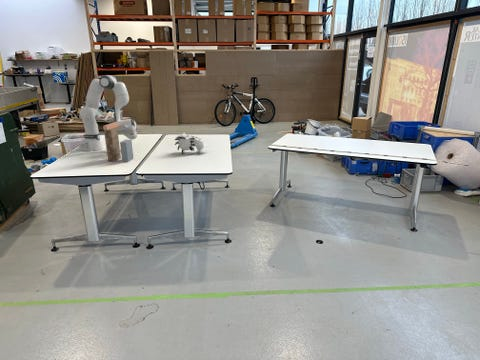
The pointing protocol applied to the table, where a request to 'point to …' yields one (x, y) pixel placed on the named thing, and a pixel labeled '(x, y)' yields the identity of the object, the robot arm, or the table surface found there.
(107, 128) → the bar
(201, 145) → the figurine
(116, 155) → the pillar
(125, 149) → the blue-grey block
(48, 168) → the table surface
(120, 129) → the robot arm
